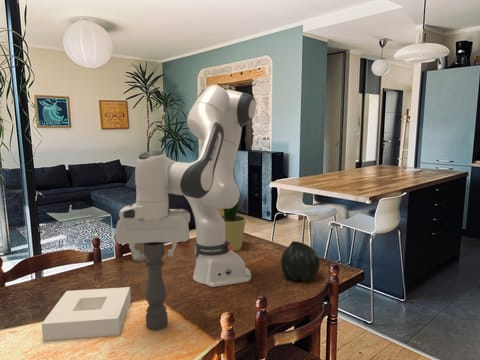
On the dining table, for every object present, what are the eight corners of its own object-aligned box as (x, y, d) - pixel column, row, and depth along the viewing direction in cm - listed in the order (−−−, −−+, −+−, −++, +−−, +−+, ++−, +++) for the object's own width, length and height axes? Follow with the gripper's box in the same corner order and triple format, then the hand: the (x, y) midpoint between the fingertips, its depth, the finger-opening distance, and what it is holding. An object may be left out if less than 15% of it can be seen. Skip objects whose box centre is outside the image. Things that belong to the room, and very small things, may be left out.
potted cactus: (250, 244, 178) (250, 185, 173) (239, 254, 163) (239, 190, 159) (221, 241, 183) (221, 183, 179) (208, 250, 169) (207, 188, 164)
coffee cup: (130, 254, 165) (129, 222, 163) (155, 253, 166) (154, 221, 164) (124, 263, 154) (123, 229, 151) (151, 262, 155) (150, 228, 152)
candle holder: (162, 331, 102) (159, 247, 98) (142, 329, 103) (138, 245, 100) (170, 320, 108) (168, 240, 104) (151, 318, 109) (148, 238, 106)
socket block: (130, 301, 120) (130, 287, 119) (119, 335, 100) (118, 318, 99) (67, 305, 117) (66, 290, 116) (43, 341, 97) (41, 323, 97)
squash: (333, 265, 137) (311, 231, 142) (310, 278, 126) (287, 241, 131) (309, 280, 146) (289, 248, 151) (286, 293, 135) (266, 258, 140)
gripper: (190, 206, 105) (190, 251, 107) (117, 207, 102) (119, 254, 104) (190, 211, 99) (190, 259, 101) (113, 212, 96) (115, 262, 98)
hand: (153, 256), depth 102 cm, fingers open, 8 cm apart
